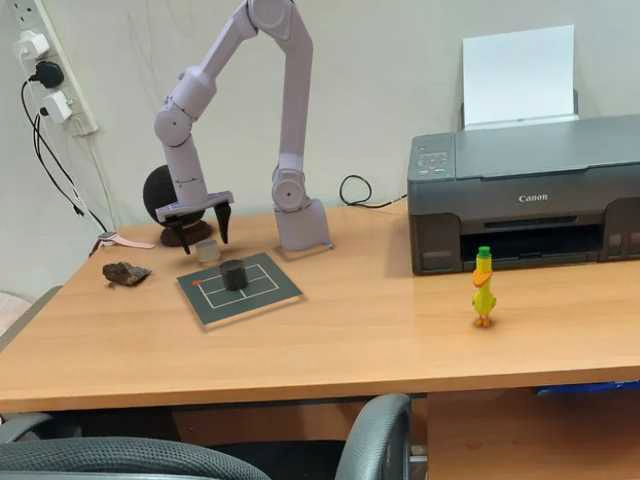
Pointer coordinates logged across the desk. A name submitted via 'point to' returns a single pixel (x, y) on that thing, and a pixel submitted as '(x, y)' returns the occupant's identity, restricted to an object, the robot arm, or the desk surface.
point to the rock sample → (124, 272)
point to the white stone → (207, 250)
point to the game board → (221, 303)
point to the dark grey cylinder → (234, 274)
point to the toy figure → (483, 286)
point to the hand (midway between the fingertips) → (206, 247)
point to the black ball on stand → (163, 194)
